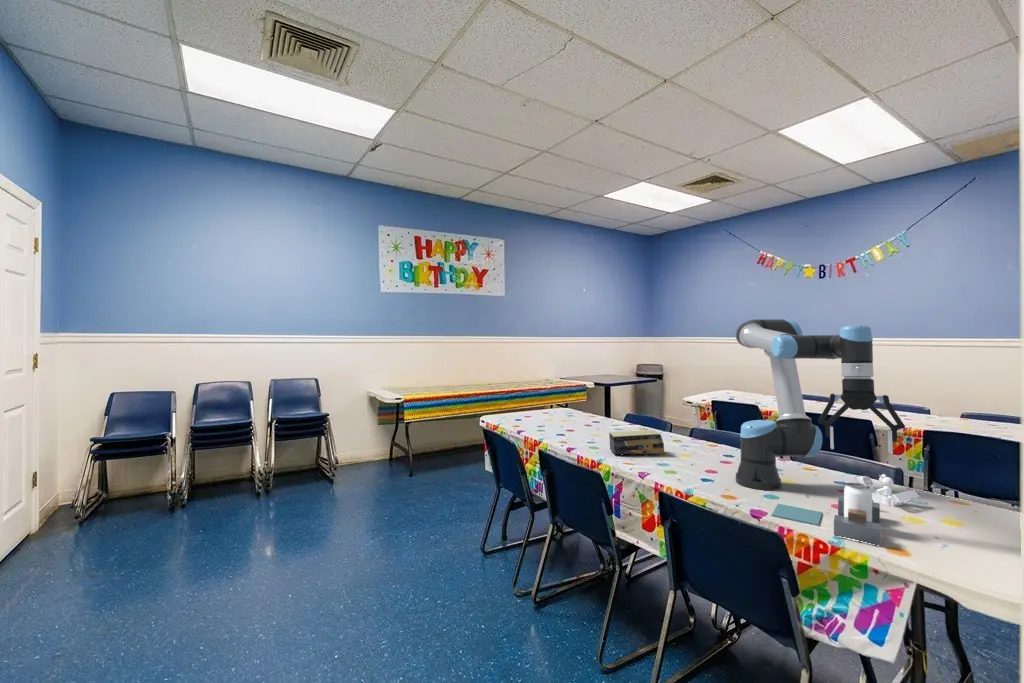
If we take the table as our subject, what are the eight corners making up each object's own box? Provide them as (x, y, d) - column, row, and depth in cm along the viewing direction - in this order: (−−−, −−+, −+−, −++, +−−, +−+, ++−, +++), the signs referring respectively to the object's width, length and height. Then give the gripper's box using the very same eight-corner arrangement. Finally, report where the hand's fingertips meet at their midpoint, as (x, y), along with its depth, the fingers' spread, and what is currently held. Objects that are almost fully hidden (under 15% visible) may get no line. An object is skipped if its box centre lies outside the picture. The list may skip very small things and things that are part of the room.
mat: (777, 504, 150) (777, 503, 150) (822, 513, 142) (822, 512, 142) (771, 515, 140) (771, 514, 140) (818, 525, 133) (818, 524, 133)
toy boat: (854, 488, 166) (854, 464, 166) (920, 507, 148) (920, 479, 148) (834, 492, 162) (834, 467, 162) (899, 511, 144) (899, 483, 144)
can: (838, 524, 134) (838, 483, 134) (853, 521, 136) (853, 481, 136) (862, 533, 128) (862, 490, 128) (877, 529, 130) (877, 487, 130)
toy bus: (664, 455, 212) (663, 433, 212) (614, 458, 212) (613, 436, 212) (657, 450, 222) (656, 429, 222) (610, 452, 222) (609, 432, 222)
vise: (840, 503, 151) (840, 485, 151) (879, 510, 145) (879, 491, 145) (833, 536, 126) (833, 514, 126) (880, 546, 119) (880, 524, 119)
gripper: (807, 377, 139) (809, 448, 138) (915, 378, 125) (919, 457, 124) (807, 377, 145) (809, 444, 144) (910, 378, 131) (914, 453, 130)
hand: (860, 450), depth 134 cm, fingers open, 13 cm apart
